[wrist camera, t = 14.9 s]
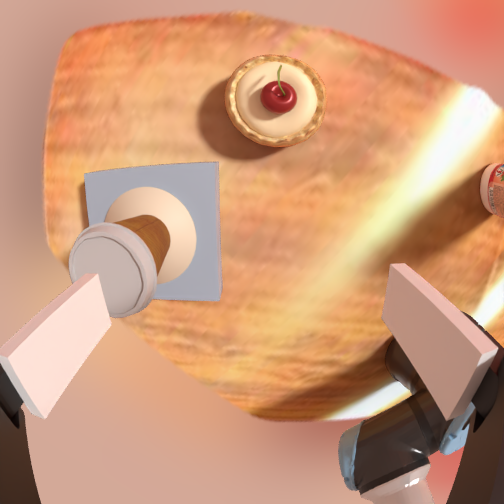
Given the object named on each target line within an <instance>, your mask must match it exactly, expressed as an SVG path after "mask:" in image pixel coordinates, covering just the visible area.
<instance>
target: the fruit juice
mask: <svg viewBox="0 0 504 504" xmlns="http://www.w3.org/2000/svg"><path fill="white" fill-rule="evenodd" d="M480 195H481V200H482V203H483V205H484V207H485V208H486V209H487V210H488V211H489V212H490V213H492V214H494V215H497V216H499V217H502V218H504V164H499V163H493V164H490V165H489V166H488V167H487V168H486V169H485V170H484V172H483V175H482V178H481V183H480Z"/></svg>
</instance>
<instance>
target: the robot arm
mask: <svg viewBox="0 0 504 504" xmlns="http://www.w3.org/2000/svg"><path fill="white" fill-rule="evenodd" d="M381 318H382V320H383V321H384V323H385V324H386V326H387V327H388V328H389V330H390V331H391V333H392V334H393V336H394V337H395V338H394V339H393V341H392V342H391V344H390V346H389V348H388V350H387V353H386V358H385V363H386V367H387V369H388V371H389V372H390V374H391V376H392V377H393V378H394V379H396V380H397V381H399V382H401V383H402V384H403V385H404V386H405V387H406V388H407V389H409V390H410V392H411V393H412V396H410V397H409V398H407V399H405V400H403V401H401V402H400V403H398V404H396V405H394V406H393V407H391V408H389V409H387V410H385V411H383V412H381V413H379V414H377V415H375V416H373V417H371V418H369V419H367V420H363V421H362V422H361V423H359V424H358V425H356V426H354V427H352V428H350V429H348V430H346V431H345V432H344V433H343V434H342V436H341V438H340V441H339V449H338V452H339V453H338V454H339V464H340V469H341V473H342V476H343V477H344V481H345V484H346V486H347V487H348V488H349V489H350V490H355V491H357V490H359V492H360V495H361V497H362V498H364V499H367V500H370V501H372V502H373V503H374V504H435V503H434V500H433V497H432V495H431V492H430V489H429V487H428V484H427V481H426V475H427V473H428V471H429V469H430V467H431V464H430V462H429V460H428V456H430V455H431V454H433V453H435V452H436V451H438V450H439V451H440V452H441V453H443V454H444V455H448V454H451V453H452V452H454V451H457V450H458V449H460V448H461V447H463V446H464V445H465V447H464V451H463V455H462V458H461V462H460V466H459V468H458V472H457V475H456V478H455V481H454V484H453V487H452V490H451V492H450V495H449V498H448V500H447V503H446V504H504V348H503V347H502V346H501V345H500V344H499V343H498V342H497V341H496V340H495V339H494V338H493V337H492V336H491V335H490V334H489V333H488V332H487V331H485V330H484V328H483V327H482V326H481V325H478V322H476V321H475V320H474V319H473V318H472V317H471V316H470V315H468V314H466V313H464V312H462V311H460V310H459V309H458V308H456V307H455V306H454V305H453V304H452V303H451V302H450V301H449V300H448V299H446V298H445V297H444V296H443V295H442V294H441V293H440V292H438V291H437V290H436V289H435V288H434V287H433V286H432V285H430V284H429V283H428V282H427V281H426V280H424V279H423V278H422V277H421V276H420V275H418V274H417V273H416V272H415V271H414V270H412V269H411V268H410V267H409V266H407V265H406V264H405V263H398V264H390V269H389V276H388V283H387V289H386V295H385V301H384V307H383V312H382V317H381ZM111 325H112V323H111V320H110V317H109V313H108V310H107V306H106V303H105V299H104V295H103V292H102V288H101V284H100V280H99V275H98V273H86V274H84V275H83V276H82V277H80V278H79V279H78V280H77V281H75V282H74V283H73V284H72V285H71V286H69V287H68V288H67V289H66V290H64V291H63V292H62V293H61V294H60V295H59V296H57V297H56V298H55V299H54V300H53V301H51V302H50V303H49V304H48V305H47V306H46V307H44V308H43V309H42V310H41V311H40V312H39V313H38V314H36V316H34V317H33V318H32V319H31V320H30V321H29V322H28V323H26V324H25V325H24V326H23V327H22V328H21V329H20V330H19V331H18V332H17V333H16V334H15V335H13V336H12V337H11V338H10V339H9V340H8V341H7V342H6V343H5V344H4V345H3V346H2V347H1V348H0V504H41V501H40V498H39V495H38V491H37V487H36V483H35V479H34V474H33V470H32V465H31V460H30V454H29V448H28V441H27V435H26V427H25V415H24V412H23V410H22V409H21V405H22V403H23V402H24V403H25V405H26V406H27V408H28V409H29V411H30V412H31V414H33V415H36V416H38V417H41V418H43V419H46V417H47V416H48V414H49V413H50V411H51V409H52V408H53V406H54V405H55V403H56V402H57V400H58V399H59V397H60V395H61V394H62V393H63V391H64V390H65V388H66V387H67V385H68V384H69V382H70V381H71V379H72V378H73V377H74V375H75V374H76V372H77V371H78V369H79V368H80V366H81V365H82V364H83V362H84V361H85V360H86V358H87V357H88V355H89V354H90V353H91V351H92V350H93V349H94V347H95V346H96V345H97V343H98V342H99V341H100V339H101V338H102V336H103V335H104V334H105V333H106V331H107V330H108V329H109V327H110V326H111Z"/></svg>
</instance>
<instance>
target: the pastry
mask: <svg viewBox="0 0 504 504" xmlns="http://www.w3.org/2000/svg"><path fill="white" fill-rule="evenodd" d="M224 97H225V106H226V111H227V113H228V116H229V118H230V120H231V121H232V123H233V125H234V126H235V127H236V128H237V129H238V130H239V131H240V132H241V133H242V134H243V135H244V136H246V137H247V138H249V139H251V140H252V141H254V142H256V143H258V144H261V145H266V146H272V147H288V146H293V145H296V144H298V143H301V142H303V141H306V140H307V139H308V138H310V137H311V136H312V135H313V134H314V133H315V132H316V131H317V130H318V129H319V127H320V125H321V124H322V121H323V118H324V115H325V111H326V105H327V98H326V88H325V85H324V83H323V81H322V79H321V78H320V76H319V75H318V74H317V73H316V71H315V70H314V69H313V68H311V67H310V66H309V65H307V64H306V63H304V62H302V61H300V60H297V59H294V58H291V57H287V56H280V55H262V56H257V57H254V58H252V59H249V60H247V61H246V62H244V63H243V64H241V65H240V66H239V67H238V68H237V69H236V70H235V71H234V72H233V74H232V75H231V77H230V79H229V81H228V83H227V86H226V90H225V96H224Z"/></svg>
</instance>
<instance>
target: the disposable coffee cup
mask: <svg viewBox="0 0 504 504" xmlns="http://www.w3.org/2000/svg"><path fill="white" fill-rule="evenodd" d="M170 242H171V240H170V234H169V231H168V229H167V227H166V225H165V224H164V223H163V222H162V221H161V220H160V219H158V218H157V217H155V216H152V215H140V216H136V217H133V218H129V219H125V220H121V221H117V222H114V223H108V222H102V223H98V224H94V225H91V226H89V227H88V228H86V229H85V230H83V231H82V232H81V233H80V235H79V236H78V237H77V239H76V241H75V243H74V246H73V248H72V250H71V253H70V257H69V273H70V277H71V281H72V284H73V283H74V282H75V281H77V280H78V279H79V278H80V277H82V276H83V275H84V274H86V273H98V275H99V280H100V284H101V288H102V292H103V295H104V299H105V303H106V306H107V310H108V313H109V317H113V318H122V317H127V316H130V315H133V314H135V313H138V312H140V311H141V310H143V309H144V308H146V307H147V306H148V304H149V303H150V302H151V300H152V298H153V297H154V294H155V291H156V287H157V276H158V274H159V272H160V269H161V267H162V264H163V262H164V259H165V257H166V255H167V252H168V250H169V247H170Z"/></svg>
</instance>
